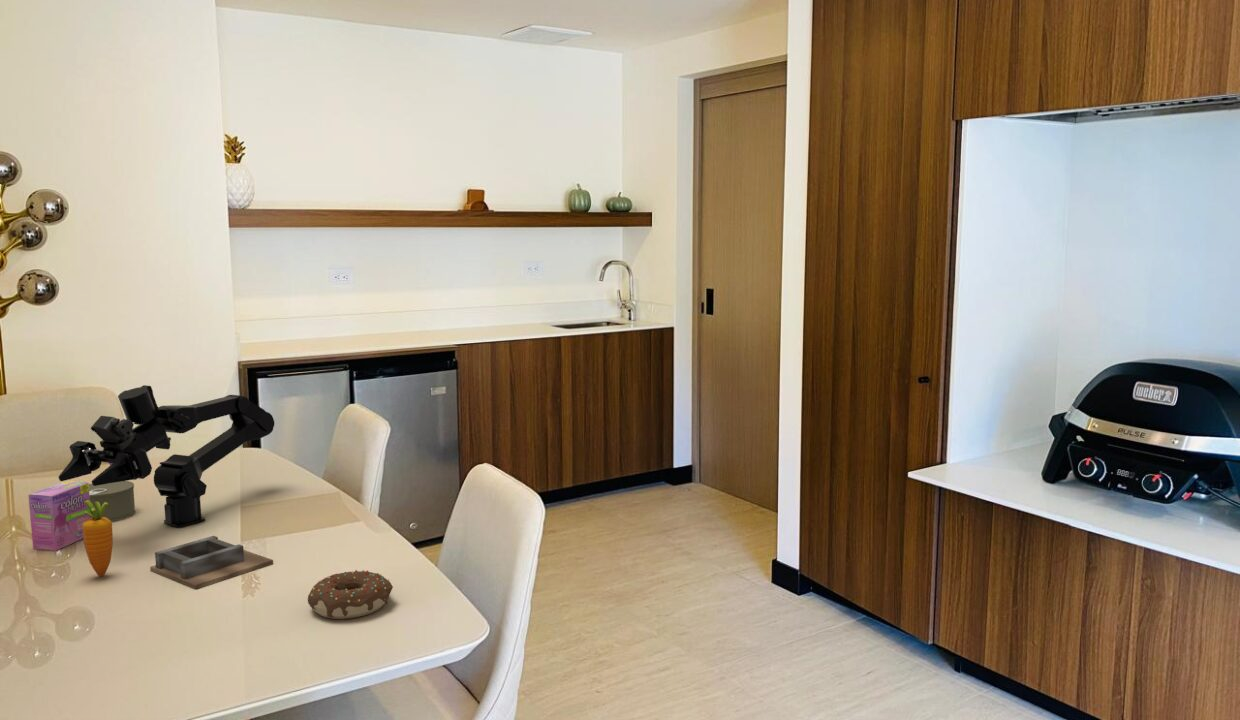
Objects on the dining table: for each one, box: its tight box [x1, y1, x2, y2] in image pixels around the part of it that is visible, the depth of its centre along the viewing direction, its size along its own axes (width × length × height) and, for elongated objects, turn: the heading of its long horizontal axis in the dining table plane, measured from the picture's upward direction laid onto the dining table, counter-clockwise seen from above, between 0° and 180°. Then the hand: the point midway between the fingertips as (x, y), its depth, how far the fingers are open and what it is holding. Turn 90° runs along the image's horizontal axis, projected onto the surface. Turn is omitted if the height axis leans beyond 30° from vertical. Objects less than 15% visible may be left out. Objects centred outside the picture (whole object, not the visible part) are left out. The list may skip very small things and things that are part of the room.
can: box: [89, 480, 136, 523], centre depth 214 cm, size 12×12×7 cm
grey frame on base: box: [149, 535, 274, 590], centre depth 182 cm, size 16×16×4 cm
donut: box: [307, 569, 394, 620], centre depth 163 cm, size 14×14×5 cm
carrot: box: [82, 500, 114, 578], centre depth 176 cm, size 5×5×15 cm
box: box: [27, 480, 91, 552], centre depth 196 cm, size 10×6×12 cm, turn 168°
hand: (76, 481), depth 184 cm, fingers open, 9 cm apart
